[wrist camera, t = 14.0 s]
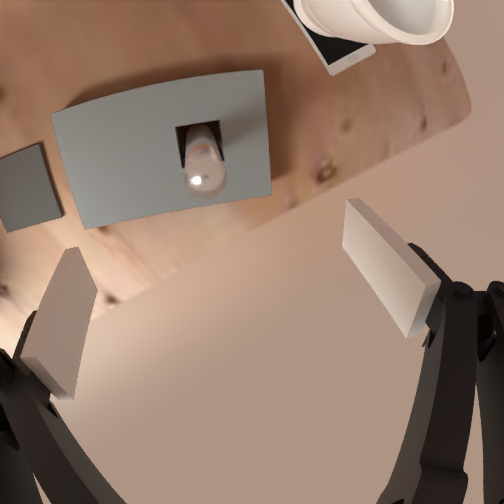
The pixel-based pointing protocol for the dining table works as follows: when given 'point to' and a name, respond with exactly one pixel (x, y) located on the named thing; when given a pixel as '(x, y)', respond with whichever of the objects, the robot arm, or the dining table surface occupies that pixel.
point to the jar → (378, 19)
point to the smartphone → (333, 46)
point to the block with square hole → (162, 145)
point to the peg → (203, 164)
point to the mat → (26, 190)
